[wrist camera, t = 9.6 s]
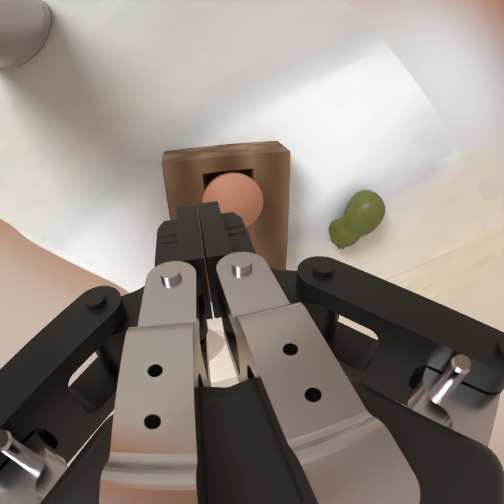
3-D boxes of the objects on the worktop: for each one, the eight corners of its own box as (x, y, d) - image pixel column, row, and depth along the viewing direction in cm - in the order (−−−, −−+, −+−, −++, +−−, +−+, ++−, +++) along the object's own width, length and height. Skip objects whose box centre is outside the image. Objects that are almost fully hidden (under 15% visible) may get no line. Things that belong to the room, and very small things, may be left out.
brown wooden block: (184, 282, 46) (186, 304, 42) (164, 151, 35) (161, 163, 31) (275, 269, 49) (284, 289, 45) (277, 140, 37) (290, 151, 33)
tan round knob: (202, 212, 38) (205, 234, 34) (197, 163, 35) (200, 179, 30) (252, 206, 39) (263, 227, 35) (251, 157, 36) (263, 172, 31)
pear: (397, 214, 41) (353, 260, 46) (382, 194, 45) (342, 238, 50) (374, 197, 38) (328, 249, 44) (359, 177, 42) (317, 226, 47)
